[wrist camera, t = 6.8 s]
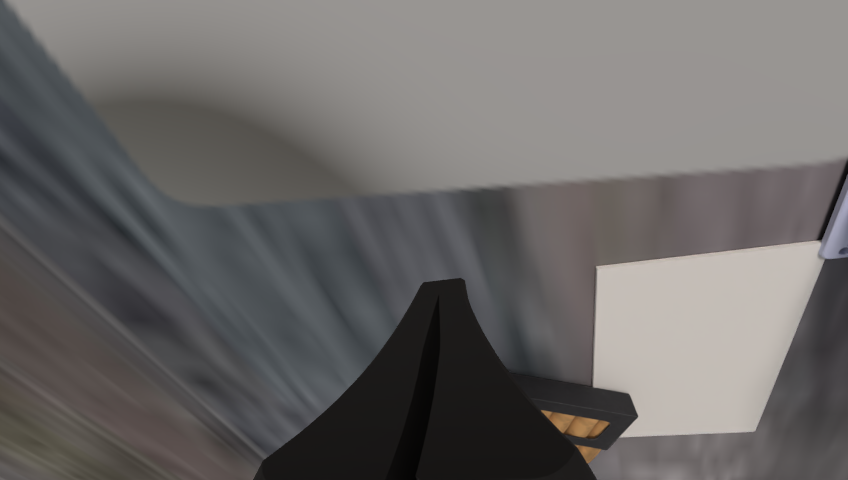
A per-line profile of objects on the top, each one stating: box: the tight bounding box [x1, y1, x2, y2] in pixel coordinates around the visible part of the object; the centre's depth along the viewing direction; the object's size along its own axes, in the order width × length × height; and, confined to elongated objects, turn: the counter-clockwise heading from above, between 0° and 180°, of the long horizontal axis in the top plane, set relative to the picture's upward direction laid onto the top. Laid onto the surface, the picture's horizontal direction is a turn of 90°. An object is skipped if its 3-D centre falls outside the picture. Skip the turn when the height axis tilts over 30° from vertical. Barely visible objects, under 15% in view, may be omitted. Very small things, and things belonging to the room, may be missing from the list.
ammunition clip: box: [510, 373, 638, 463], centre depth 30 cm, size 11×2×12 cm
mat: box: [592, 240, 825, 437], centre depth 26 cm, size 12×18×1 cm
